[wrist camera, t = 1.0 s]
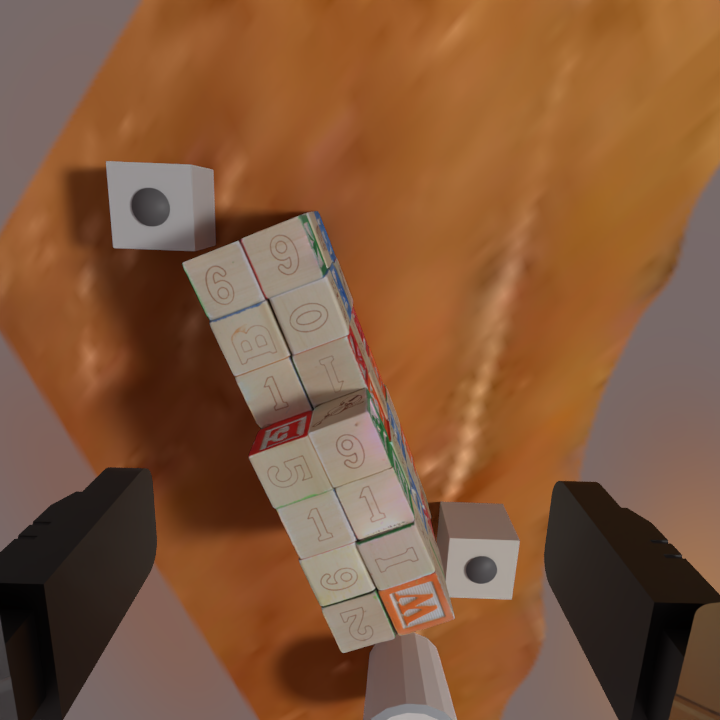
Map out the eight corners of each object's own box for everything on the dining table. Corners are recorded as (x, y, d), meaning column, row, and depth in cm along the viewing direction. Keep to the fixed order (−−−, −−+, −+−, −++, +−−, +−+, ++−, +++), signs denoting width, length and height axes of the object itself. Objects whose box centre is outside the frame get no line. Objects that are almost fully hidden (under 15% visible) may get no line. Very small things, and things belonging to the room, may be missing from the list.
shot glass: (450, 691, 44) (466, 779, 37) (365, 698, 44) (366, 787, 37) (444, 621, 42) (459, 700, 35) (355, 629, 42) (354, 709, 36)
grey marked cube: (139, 166, 33) (104, 160, 29) (213, 169, 33) (190, 164, 29) (144, 242, 34) (112, 248, 30) (216, 245, 34) (194, 251, 30)
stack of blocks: (226, 244, 34) (155, 267, 23) (319, 208, 34) (295, 212, 22) (347, 524, 40) (340, 659, 28) (428, 497, 39) (457, 625, 27)
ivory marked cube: (440, 501, 39) (450, 539, 35) (502, 503, 39) (520, 542, 35) (435, 554, 41) (444, 598, 36) (495, 557, 41) (512, 601, 36)
